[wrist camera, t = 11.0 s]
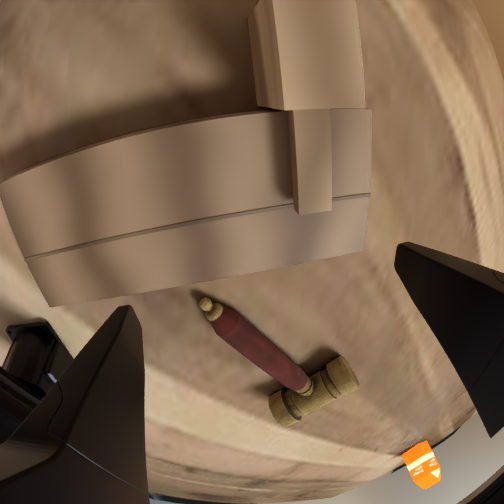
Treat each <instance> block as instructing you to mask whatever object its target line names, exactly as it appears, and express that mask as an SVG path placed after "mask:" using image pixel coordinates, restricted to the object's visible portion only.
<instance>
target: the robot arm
mask: <svg viewBox="0 0 504 504" xmlns="http://www.w3.org/2000/svg"><path fill="white" fill-rule="evenodd" d="M394 267H395V270H396V272H397V274H398V276H399V277H400V279H401V281H402V283H403V284H404V286H405V288H406V290H407V291H408V293H409V295H410V297H411V299H412V300H413V302H414V304H415V305H416V307H417V308H418V310H419V311H420V313H421V314H422V316H423V317H424V319H425V321H426V322H427V324H428V325H429V327H430V328H431V330H432V331H433V333H434V335H435V336H436V338H437V339H438V341H439V343H440V344H441V346H442V348H443V349H444V351H445V353H446V354H447V356H448V358H449V359H450V361H451V363H452V364H453V366H454V368H455V370H456V372H457V373H458V375H459V377H460V379H461V380H462V382H463V384H464V386H465V388H466V390H467V392H468V394H469V396H470V398H471V400H472V402H473V404H474V405H475V407H476V409H477V412H478V414H479V416H480V418H481V420H482V422H483V424H484V426H485V428H486V430H487V432H488V435H489V436H490V438H492V437H493V436H494V435H495V434H497V433H498V432H499V431H500V430H501V429H502V428H503V427H504V273H502V272H499V271H496V270H493V269H490V268H487V267H485V266H482V265H479V264H476V263H473V262H470V261H467V260H464V259H461V258H458V257H455V256H452V255H449V254H446V253H443V252H440V251H437V250H434V249H430V248H427V247H424V246H421V245H418V244H414V243H411V242H404V243H400V244H398V246H397V249H396V255H395V262H394ZM6 332H7V334H8V335H9V337H10V338H11V340H12V341H13V342H12V345H11V347H10V349H9V351H8V354H7V356H6V358H5V361H4V363H3V365H2V367H1V366H0V504H150V502H149V495H148V483H147V470H146V452H145V421H144V389H145V368H144V355H143V341H142V328H141V325H140V322H139V320H138V318H137V316H136V314H135V312H134V310H133V308H132V306H131V305H124V306H119V307H118V308H117V309H116V310H115V311H114V312H113V313H112V314H111V316H110V317H109V318H108V319H107V320H106V321H105V323H104V324H103V325H102V326H101V327H100V328H99V330H98V331H97V332H96V333H95V334H94V335H93V337H92V338H91V339H90V340H89V341H88V343H87V344H86V345H85V346H84V348H83V349H82V350H81V351H80V352H79V354H78V355H77V356H76V357H75V359H73V357H72V356H71V355H70V353H69V352H68V351H67V349H66V348H65V346H64V345H63V343H62V342H61V340H60V339H59V338H58V336H57V335H56V333H55V331H54V330H53V328H52V327H51V325H50V324H48V323H46V322H43V323H34V324H25V325H15V326H8V327H7V328H6ZM457 504H504V465H503V466H502V467H501V468H500V469H499V470H498V471H497V472H496V473H495V474H494V475H493V476H491V477H490V478H489V479H488V480H487V481H486V482H485V483H483V484H482V485H481V486H480V487H478V488H477V489H476V490H475V491H473V492H472V493H471V494H470V495H468V496H467V497H466V498H464V499H463V500H462V501H460V502H459V503H457Z"/></svg>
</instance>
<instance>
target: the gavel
mask: <svg viewBox="0 0 504 504" xmlns="http://www.w3.org/2000/svg"><path fill="white" fill-rule="evenodd" d="M199 306H200V308H201V309H202V310H204V311H206V313H205V315H206V318H207V319H208V320H209V321H210V323H211V325H212V327H213V328H214V330H215V332H216V334H217V335H218V336H220V337H221V338H222V339H223V340H225V341H226V342H227V343H228V344H230V345H231V346H232V347H233V348H235V349H236V350H237V351H238V352H240V353H241V354H242V355H244V356H245V357H246V358H248V359H249V360H250V361H251V362H253V363H254V364H255V365H257V366H258V367H259V368H261V369H262V370H263V371H265V372H266V373H268V374H269V375H270V376H272V377H273V378H274V379H276V380H277V381H279V382H280V383H281V384H283V385H284V386H286V387H287V388H290V389H289V390H288V391H286V390H284V389H282V390H280V391H278V392H276V393H274V394H272V395H270V396H269V401H268V403H269V408H270V411H271V413H272V415H273V417H274V418H275V419H276V421H277V422H278V423H279V424H281V425H283V426H285V427H287V426H289V425H291V424H294V423H296V422H298V421H300V420H301V418H302V415H304V414H305V415H306V414H309V413H310V412H312V411H314V410H316V409H318V408H320V407H322V406H324V405H326V404H328V403H329V402H331V401H333V400H335V399H336V398H337V397H338V396H339V395H341V394H342V395H343V396H347V395H349V394H350V393H352V392H354V391H356V390H357V389H359V382H358V379H357V377H356V375H355V373H354V372H353V370H352V368H351V367H350V365H349V364H348V362H347V361H346V360H345V359H344V358H343V357H342V356H339V357H337V358H335V359H334V360H332V361H331V362H329V363H327V364H326V367H327V368H326V369H325V370H323V371H319V372H317V373H315V374H314V375H312V376H310V377H308V376H307V375H306V374H305V373H304V371H303V370H302V369H301V368H300V367H299V366H298V365H297V364H295V363H294V362H293V361H292V360H291V359H290V358H288V357H287V356H286V355H285V354H284V353H283V352H282V351H280V350H279V349H278V348H277V347H276V346H275V345H274V344H272V343H271V342H270V341H269V340H268V339H267V338H266V337H265V336H263V335H262V334H261V333H260V332H259V331H258V330H257V329H256V328H254V327H253V326H252V325H251V324H250V323H249V322H248V321H247V320H246V319H245V318H243V317H242V316H241V315H240V314H239V313H238V312H237V311H234V310H232V309H229V308H226V307H224V306H222V305H220V304H219V303H214V304H212V302H211V300H210V299H208V298H202V299H201V300H200V302H199Z"/></svg>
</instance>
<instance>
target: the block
mask: <svg viewBox="0 0 504 504" xmlns="http://www.w3.org/2000/svg"><path fill="white" fill-rule="evenodd" d="M247 22H248V30H249V38H250V47H251V55H252V64H253V73H254V82H255V91H256V100H257V106H262V107H268V108H273V109H279V110H284V111H286V110H288V123H289V136H290V150H291V166H292V183H293V203H294V210H295V211H296V212H297V213H298V215H305V214H312V213H318V212H324V211H331V210H332V148H331V120H330V109H335V108H356V109H365V90H364V74H363V61H362V50H361V40H360V31H359V23H358V16H357V9H356V3H355V0H260V1H259V2H258V4H257V5H256V6H255V8H254V9H253V10H252V12H251V13H250V15H249V16H248V17H247Z"/></svg>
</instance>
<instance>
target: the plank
mask: <svg viewBox="0 0 504 504" xmlns="http://www.w3.org/2000/svg"><path fill="white" fill-rule="evenodd" d="M330 120H331V148H332V210H331V211H324V212H318V213H312V214H305V215H298V213H297V212H296V211H295V210H294V203H293V183H292V166H291V150H290V136H289V123H288V110H286V111H284V110H279V109H267V110H257V111H248V112H239V113H232V114H224V115H217V116H211V117H205V118H199V119H193V120H188V121H182V122H177V123H172V124H168V125H163V126H158V127H154V128H150V129H145V130H141V131H137V132H133V133H129V134H126V135H122V136H118V137H115V138H111V139H108V140H104V141H101V142H98V143H94V144H91V145H88V146H85V147H82V148H79V149H76V150H73V151H70V152H67V153H64V154H62V155H59V156H56V157H54V158H51V159H48V160H46V161H43V162H41V163H38V164H36V165H33V166H31V167H28V168H26V169H24V170H21V171H19V172H17V173H15V174H13V175H11V176H10V177H8V178H7V179H5V180H3V181H2V182H0V198H1V201H2V204H3V206H4V209H5V212H6V215H7V218H8V220H9V223H10V225H11V228H12V231H13V233H14V235H15V238H16V240H17V243H18V245H19V247H20V250H21V252H22V254H23V256H24V259H25V261H26V263H27V265H28V267H29V269H30V271H31V273H32V275H33V277H34V279H35V281H36V283H37V285H38V287H39V289H40V290H41V292H42V294H43V296H44V298H45V300H46V301H47V303H48V305H49V307H55V306H62V305H68V304H75V303H81V302H87V301H94V300H100V299H106V298H112V297H118V296H125V295H131V294H137V293H142V292H148V291H154V290H160V289H166V288H171V287H177V286H183V285H188V284H194V283H200V282H205V281H211V280H216V279H222V278H227V277H232V276H238V275H243V274H248V273H254V272H259V271H264V270H269V269H274V268H279V267H285V266H290V265H295V264H300V263H305V262H310V261H315V260H320V259H325V258H329V257H334V256H339V255H344V254H349V253H354V252H358V251H363V250H365V244H366V234H367V224H368V212H369V198H370V179H371V142H372V127H371V109H366V108H365V109H356V108H335V109H330Z"/></svg>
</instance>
